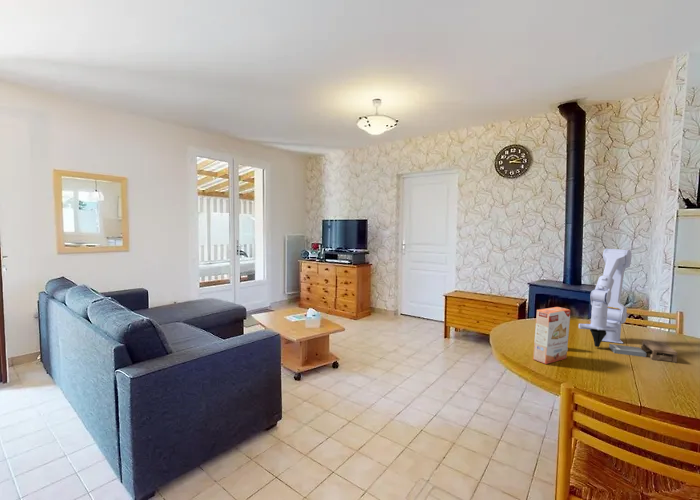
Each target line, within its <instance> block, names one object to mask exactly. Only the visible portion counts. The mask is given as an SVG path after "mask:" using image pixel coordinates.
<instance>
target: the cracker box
mask: <svg viewBox="0 0 700 500" xmlns="http://www.w3.org/2000/svg"><path fill="white" fill-rule="evenodd" d="M571 312H572V311H571V309H568V308H565V307H560V306H554V307H548V308H541V309H536V318H535V331H534V341H533V342H534V343H533V344H534V345H533V354H532V357H533V360H534V361H537V362H539V363H542V364H544V365H548V364H551V363H555V362H559V361H563V360H566V359H567V355H568V350H567V348H568V346H569V345H568V344H569V343H568V342H569V334H570V333H569V332H570V321H571Z"/></svg>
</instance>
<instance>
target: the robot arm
mask: <svg viewBox="0 0 700 500" xmlns="http://www.w3.org/2000/svg"><path fill="white" fill-rule="evenodd" d="M632 256H633V255H632V251H631V249H629V248H627V249H622V248H619V249H618V248H608V247H605V249H603V253H602V259H603V262H604V264H605V265H604V268H603V269H604V270H603V273H602V275H600V276H599V277H598V279H597V282H596V285H595V287H594V289H593V290H591V292H590V294H589V295H590V305H591V311H590V313H591V315H590V323H578V329H579V330H582V329H583V330H589V331H590V333H591V336H592V338H593V343H594V346H595V347H596V348H600V345H601V343H602V342H606V343H607V342H608V343H613V344H614V343H616V344H624V342H623V341H622V340H621V334H622V333H621V332H622V324H624V323H626V320H627V317H628V313H627V312H628V311H627V310H628V309H627V307H626V306H625V305H624V304H623V303H622V302H621V296H622V293H623V292H622V289H623V282H624V275H625V271H626V269H628V268H630V267H631V264H632Z"/></svg>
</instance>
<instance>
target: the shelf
mask: <svg viewBox="0 0 700 500" xmlns="http://www.w3.org/2000/svg"><path fill="white" fill-rule="evenodd" d="M640 348H641V349H642V350H643V351H644V352H646V353H651V354H650V360H652V361H665V362H672V363H674V364H677V361H678V352H677V351H676V350H675V349H673V348H672V347H670V346H669V345H668V344H666V343H665V342H658V341H648V340H642V344H641V347H640Z"/></svg>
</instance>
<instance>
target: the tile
mask: <svg viewBox="0 0 700 500" xmlns="http://www.w3.org/2000/svg"><path fill="white" fill-rule="evenodd" d="M608 345H609V346H608V348H609V350H611V352H612V353H613V354H619V355H626V356H633V357H635V356H636V357H642V358H646V357H647V352H646V351H643V350H642V349H641V347H639V346H628V345H621V344H614V343H612V344H611V343H609V344H608Z"/></svg>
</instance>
